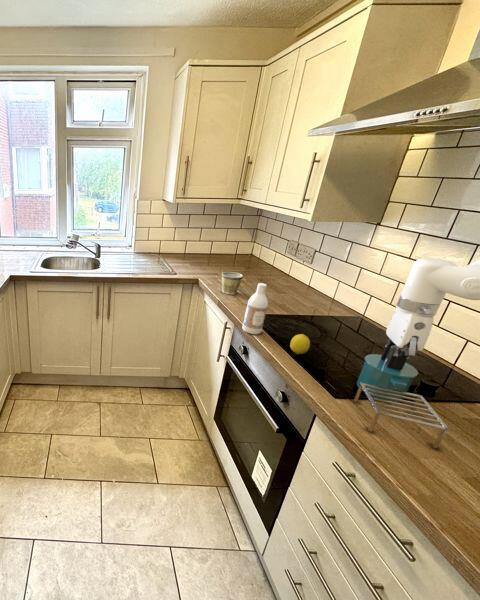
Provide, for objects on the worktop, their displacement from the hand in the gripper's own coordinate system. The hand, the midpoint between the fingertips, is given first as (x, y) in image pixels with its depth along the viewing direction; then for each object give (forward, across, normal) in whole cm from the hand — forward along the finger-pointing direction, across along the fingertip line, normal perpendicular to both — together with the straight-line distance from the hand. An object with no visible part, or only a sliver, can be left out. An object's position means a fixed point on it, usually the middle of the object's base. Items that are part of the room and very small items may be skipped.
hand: (390, 364), depth 90 cm
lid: (+1, 0, 0) cm, 1 cm away
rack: (+9, -15, +2) cm, 18 cm away
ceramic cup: (+9, +69, +41) cm, 81 cm away
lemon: (+9, +13, +19) cm, 25 cm away
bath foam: (+9, +26, +33) cm, 43 cm away
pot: (+9, 0, 0) cm, 9 cm away
